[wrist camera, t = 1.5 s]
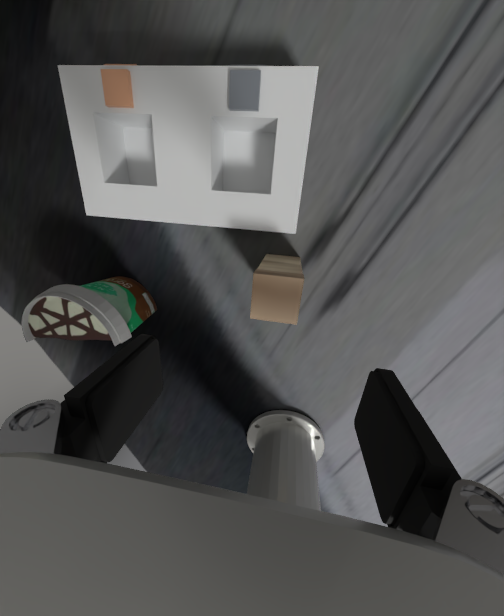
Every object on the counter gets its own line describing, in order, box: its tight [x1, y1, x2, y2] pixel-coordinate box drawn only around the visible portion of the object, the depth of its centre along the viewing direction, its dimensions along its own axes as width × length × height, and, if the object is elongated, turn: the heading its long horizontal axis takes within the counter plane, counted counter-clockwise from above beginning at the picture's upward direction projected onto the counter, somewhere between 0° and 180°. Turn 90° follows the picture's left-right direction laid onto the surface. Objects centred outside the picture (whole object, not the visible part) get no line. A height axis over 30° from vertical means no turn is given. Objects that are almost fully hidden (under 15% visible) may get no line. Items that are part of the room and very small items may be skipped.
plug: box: [250, 254, 304, 325], centre depth 24 cm, size 4×4×10 cm
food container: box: [22, 276, 157, 346], centre depth 29 cm, size 12×6×10 cm, turn 93°
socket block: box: [58, 64, 319, 234], centre depth 23 cm, size 12×22×5 cm, turn 86°
